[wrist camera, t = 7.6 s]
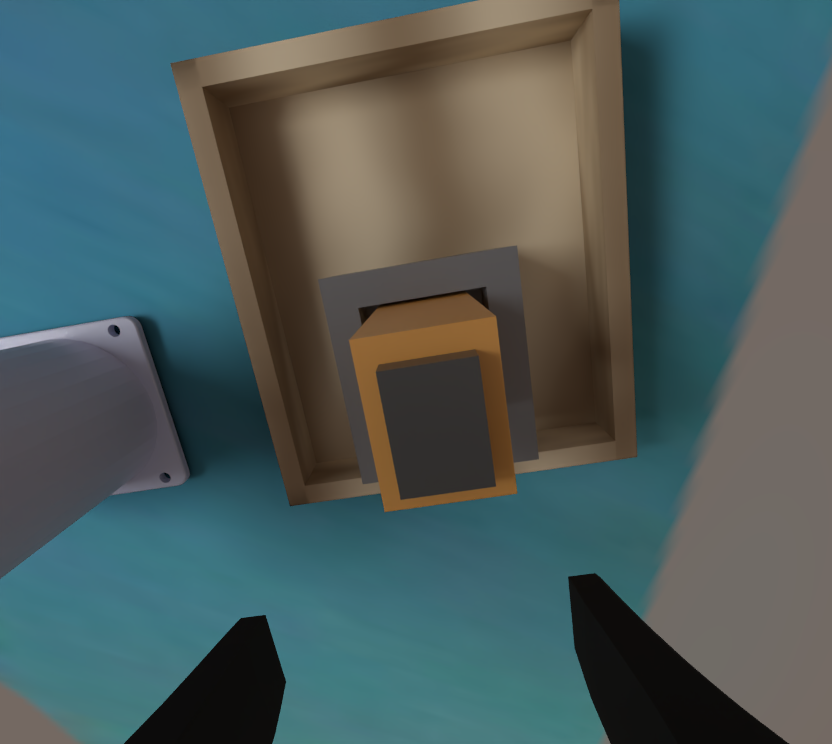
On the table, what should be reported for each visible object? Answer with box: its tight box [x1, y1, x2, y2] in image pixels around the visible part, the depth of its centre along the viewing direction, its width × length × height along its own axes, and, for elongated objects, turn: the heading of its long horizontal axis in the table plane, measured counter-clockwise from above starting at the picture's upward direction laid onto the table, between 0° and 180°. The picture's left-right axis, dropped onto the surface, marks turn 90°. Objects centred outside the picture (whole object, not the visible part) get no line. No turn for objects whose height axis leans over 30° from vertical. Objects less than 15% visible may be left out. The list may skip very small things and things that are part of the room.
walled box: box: [170, 0, 637, 506], centre depth 17 cm, size 14×16×3 cm
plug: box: [349, 290, 517, 512], centre depth 12 cm, size 3×4×8 cm
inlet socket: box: [318, 245, 539, 484], centre depth 16 cm, size 6×7×4 cm
